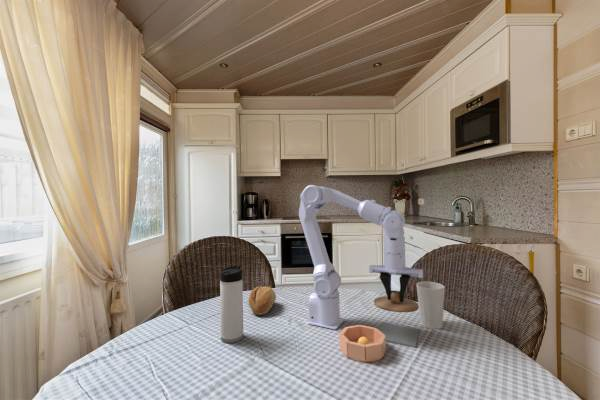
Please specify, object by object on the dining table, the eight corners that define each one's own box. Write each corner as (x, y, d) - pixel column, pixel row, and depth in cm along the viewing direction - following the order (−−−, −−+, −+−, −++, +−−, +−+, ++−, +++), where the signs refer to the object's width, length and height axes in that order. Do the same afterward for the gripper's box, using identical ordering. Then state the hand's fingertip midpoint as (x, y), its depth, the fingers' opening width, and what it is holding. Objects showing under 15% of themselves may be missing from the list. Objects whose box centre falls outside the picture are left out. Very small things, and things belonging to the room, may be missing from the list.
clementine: (356, 350, 69) (356, 338, 69) (359, 345, 71) (359, 333, 72) (368, 353, 67) (368, 341, 67) (371, 347, 70) (370, 336, 70)
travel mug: (248, 334, 80) (247, 266, 80) (234, 345, 74) (232, 271, 74) (231, 330, 82) (230, 264, 83) (216, 340, 76) (215, 269, 77)
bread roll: (244, 318, 91) (244, 294, 92) (253, 302, 106) (253, 281, 107) (273, 318, 91) (272, 294, 91) (277, 302, 106) (277, 281, 106)
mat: (372, 338, 76) (372, 337, 76) (381, 323, 85) (381, 321, 85) (415, 347, 71) (415, 346, 71) (419, 330, 80) (419, 328, 80)
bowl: (334, 355, 68) (334, 339, 68) (348, 335, 78) (348, 322, 78) (379, 366, 63) (379, 350, 63) (388, 344, 72) (388, 330, 72)
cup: (449, 330, 79) (448, 289, 80) (420, 328, 81) (419, 288, 81) (441, 319, 87) (440, 282, 87) (414, 317, 89) (413, 281, 89)
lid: (368, 307, 76) (368, 293, 76) (380, 296, 86) (379, 284, 86) (414, 315, 70) (414, 300, 70) (421, 302, 80) (420, 290, 80)
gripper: (366, 253, 78) (367, 300, 78) (420, 256, 71) (422, 308, 71) (371, 249, 85) (372, 293, 84) (422, 252, 78) (424, 300, 77)
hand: (395, 299), depth 78 cm, fingers closed on lid, 3 cm apart
